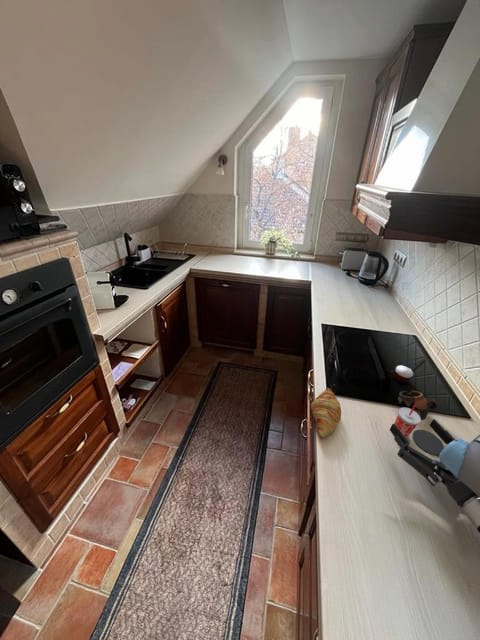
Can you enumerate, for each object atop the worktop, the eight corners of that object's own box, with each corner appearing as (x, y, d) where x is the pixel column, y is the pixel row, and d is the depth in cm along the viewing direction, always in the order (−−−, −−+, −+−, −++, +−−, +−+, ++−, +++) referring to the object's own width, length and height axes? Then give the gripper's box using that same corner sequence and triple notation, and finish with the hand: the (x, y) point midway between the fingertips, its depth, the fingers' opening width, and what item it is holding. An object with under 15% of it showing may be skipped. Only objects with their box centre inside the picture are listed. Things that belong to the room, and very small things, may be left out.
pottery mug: (406, 422, 88) (402, 399, 87) (395, 411, 97) (392, 390, 97) (445, 420, 85) (442, 396, 85) (430, 409, 94) (427, 387, 94)
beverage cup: (386, 433, 83) (401, 403, 76) (392, 422, 87) (407, 393, 80) (406, 445, 80) (424, 416, 73) (412, 433, 84) (429, 404, 76)
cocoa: (387, 379, 105) (397, 356, 99) (390, 370, 110) (400, 348, 104) (413, 389, 101) (426, 366, 95) (415, 380, 105) (427, 357, 99)
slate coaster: (437, 433, 84) (437, 432, 84) (448, 458, 77) (449, 457, 76) (408, 427, 86) (409, 426, 85) (417, 451, 78) (417, 450, 78)
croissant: (328, 449, 82) (346, 440, 77) (303, 431, 82) (319, 421, 77) (332, 400, 98) (347, 390, 94) (311, 385, 98) (325, 375, 94)
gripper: (422, 516, 60) (371, 436, 78) (511, 502, 63) (442, 428, 81) (435, 501, 56) (378, 420, 74) (530, 486, 60) (453, 412, 78)
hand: (412, 424), depth 78 cm, fingers open, 13 cm apart
